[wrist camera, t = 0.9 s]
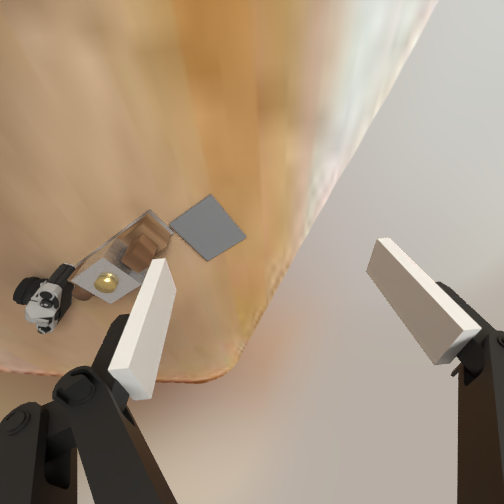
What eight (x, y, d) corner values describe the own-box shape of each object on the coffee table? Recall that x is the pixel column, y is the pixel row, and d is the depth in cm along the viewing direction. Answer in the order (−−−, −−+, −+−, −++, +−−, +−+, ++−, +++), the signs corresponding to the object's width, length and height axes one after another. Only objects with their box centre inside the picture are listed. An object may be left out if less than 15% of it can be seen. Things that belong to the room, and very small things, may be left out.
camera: (30, 250, 41) (-13, 290, 34) (80, 264, 43) (50, 303, 36) (35, 294, 48) (1, 334, 41) (78, 303, 50) (53, 342, 44)
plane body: (104, 279, 46) (80, 320, 38) (78, 263, 43) (46, 303, 35) (173, 231, 41) (162, 267, 33) (149, 209, 38) (130, 242, 30)
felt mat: (169, 223, 40) (169, 224, 39) (210, 193, 37) (210, 195, 37) (207, 259, 45) (207, 261, 45) (245, 235, 43) (246, 237, 42)
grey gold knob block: (87, 259, 37) (67, 284, 33) (116, 236, 35) (100, 261, 31) (121, 282, 41) (108, 308, 36) (150, 263, 39) (140, 288, 34)
